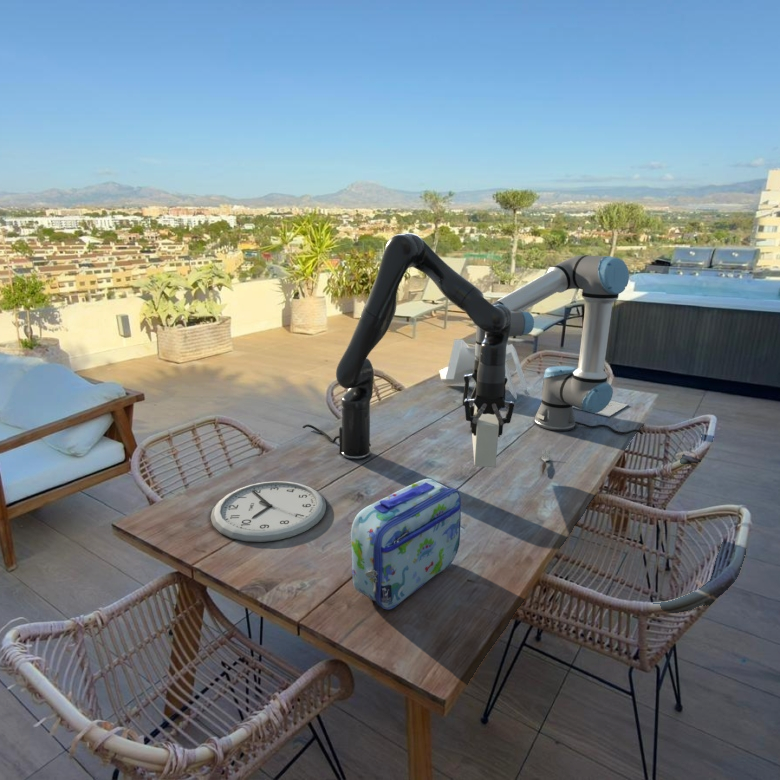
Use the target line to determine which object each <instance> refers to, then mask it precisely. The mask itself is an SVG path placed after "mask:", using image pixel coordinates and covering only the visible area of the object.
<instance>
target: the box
mask: <svg viewBox="0 0 780 780" xmlns="http://www.w3.org/2000/svg"><path fill="white" fill-rule="evenodd" d="M473 406H474V414H475V412H476V410H477V407H476V405H475V404H474V403H473ZM498 432H499V424H498V419H497V417H496V415H495V414H494V415H491V414H483V413H482V415H481V416H480V418H479V419H478V421H477V430H476V436H474V434H473V433H472V432H471V437H472V451H473V464H474V467H480V468H494V469H495V468H496V466H497V457H498V456H497V455H498V442H499V437H498Z"/></svg>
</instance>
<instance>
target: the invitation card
mask: <svg viewBox="0 0 780 780" xmlns="http://www.w3.org/2000/svg"><path fill="white" fill-rule="evenodd" d="M628 406H629V404H627V403H623V402H618V401H614V400H610V402H609V404H608V405H607V406H606V407H605V408H604V409H603V410H602V411H600V412H597V413H595V414H596V415H600V416H604V417H608V418H609V417H611V416H613V415H614V414H616V413H617V412H619V411H621V410H623V409H624V408H626V407H628ZM573 409H575V410H581V411H583V410H582V409H579V408H577V407H574V406H573Z"/></svg>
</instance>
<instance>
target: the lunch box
mask: <svg viewBox="0 0 780 780" xmlns="http://www.w3.org/2000/svg"><path fill="white" fill-rule="evenodd" d="M461 499H462V498H461V493H460V491H459V490H458V489H457V488H454V487H451V488H449V487H447V486H446V485H444V484H441V483H440V482H437V481H436V480H434V479H431V478H424V479H421V480H418V481H416V482H414V483H412V484H410V485H408V486H405V487H404V488H401V489H399V490H397V491H395V492H393V493H392V494H389V495H387V496H385V497H384V498H381V499H380V500H377V501H375V502H373V503H371V504H370V505H367V506H366V507H364V508H362V509H361V510H360V511H359V512H358V513H357V514H356V516H355V517H354V519H353V521H352V523H351V529H350V547H351V548H350V552H351V576H352V584H353V588H354V590H356V591H357V592H359V593H360V594H363V595H365V596H367V597H368V598H369V599H371V600H372V601H374V602H376V604H377V606H378V607H379V608H382V609H384V610H386V611H387V610H388V611H390V610H393V609H394V608H396V607H397V606H398V605H400V604H401V603H402V602H403V601H405V600H406V599H407V598H408V597H409V596H411V595H412V594H413V593H415V592H417V590H419V589H420V588H422V587H423V586H424V585H425V584H426V583H428V581H430V580H431V579H432V578H434V577H435V576H438V574H440V573H441V572H443V571H445V570H446V569H447V568H448V567H449V566H451V564H452V563H453V562H454V560H455V558H456V556H457V554H458V551H459V548H460V541H461V522H462V521H461V519H462V515H461V513H462V512H461V510H462V509H461V508H462V506H461V505H462V504H461V503H462V502H461Z"/></svg>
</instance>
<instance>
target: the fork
mask: <svg viewBox="0 0 780 780" xmlns="http://www.w3.org/2000/svg"><path fill="white" fill-rule="evenodd" d="M541 460H542V461H543V463H542V465H541V474H544V473H545V469H546V468H547V463H546V462H548V461H550V460H551V452H549V451H547V450H544V449H543V450H542V455H541Z"/></svg>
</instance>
